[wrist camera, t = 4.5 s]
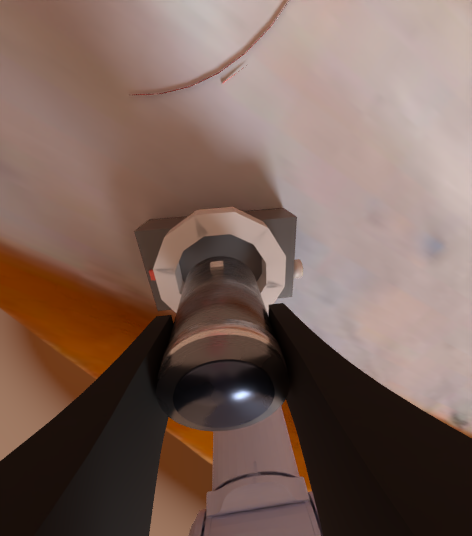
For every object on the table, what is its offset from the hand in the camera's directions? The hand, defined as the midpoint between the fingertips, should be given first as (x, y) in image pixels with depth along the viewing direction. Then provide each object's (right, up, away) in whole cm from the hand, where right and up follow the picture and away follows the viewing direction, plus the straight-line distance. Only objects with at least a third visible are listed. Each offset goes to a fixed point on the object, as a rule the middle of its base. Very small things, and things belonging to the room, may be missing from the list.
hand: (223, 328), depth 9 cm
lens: (0, +1, +3) cm, 3 cm away
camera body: (-1, +4, +8) cm, 9 cm away
